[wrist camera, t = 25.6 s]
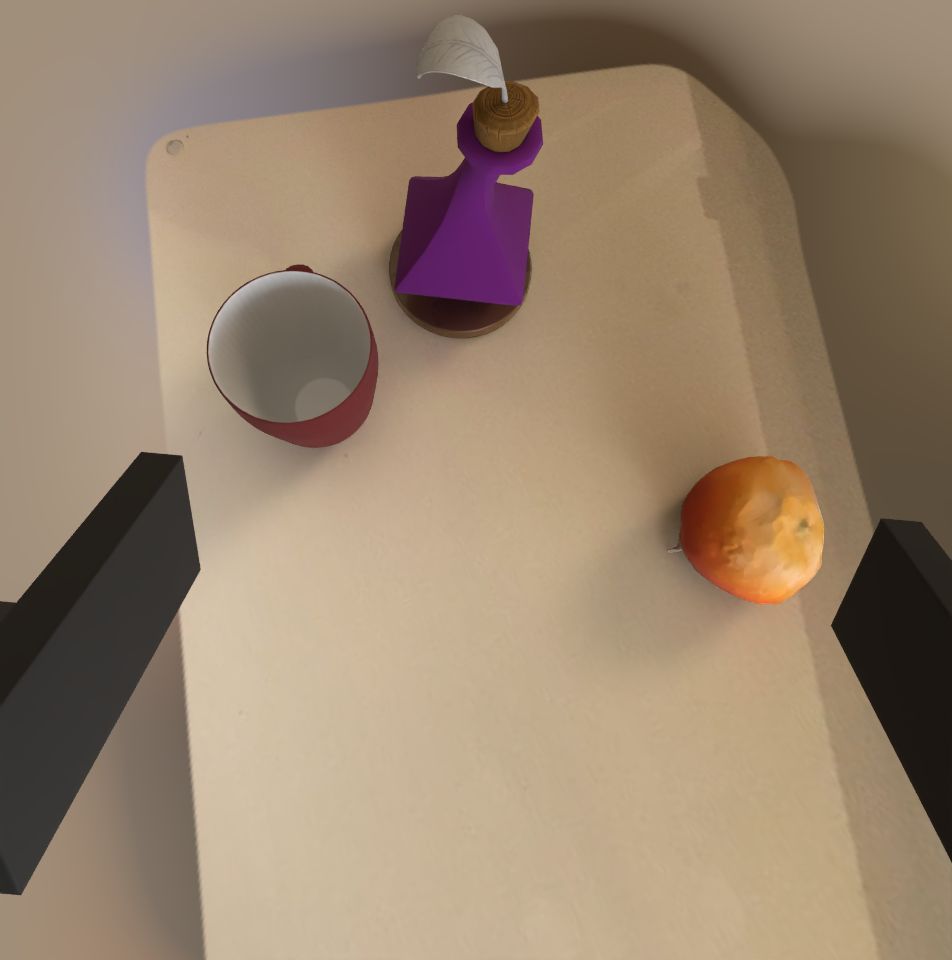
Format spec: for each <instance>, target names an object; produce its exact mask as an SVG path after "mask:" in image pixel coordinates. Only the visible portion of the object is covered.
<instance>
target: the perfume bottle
mask: <svg viewBox="0 0 952 960" xmlns="http://www.w3.org/2000/svg"><path fill="white" fill-rule="evenodd" d="M428 72H440V73H447V74H452V75H456V76H459V77H463V78H466V79H469V80H472V81H476V82H479V83H481V84H484V85H486V86H488V87H487V88H485V89H483V90H481V91H480V92H479V94H478V96H477V97H476V99H475V100H474V102H472V103H471V104H469V105H468V107H467V109H466V110H465V112H464V113H463V115H462V117H461V118H460V120H459V122H458V123H457V140H458V148H459V149H460V151H461V152H462V154H463V155H464V156H465V159H464V160H463V162H462V163H461V165H460V166H459V167H458V168H457V170H456V171H455V172H454V173H452V174H451V175H449V176H445V177H417V176H415V177H411V179H410V180H409V186H408V194H407V201H406V208H405V215H404V222H403V229H402V236H401V243H400V251H399V258H398V265H397V272H396V279H395V286H394V288H395V291H397V292H399V293H405V294H414V295H423V296H432V297H442V298H451V299H460V300H469V301H478V302H487V303H496V304H505V305H514V306H518V305H521V304H522V302H523V295H524V285H525V275H526V265H527V255H528V245H529V235H530V225H531V215H532V205H533V195H534V194H533V192H532V190H530V189H526V188H521V187H516V186H511V185H506V184H500V183H497V182H496V181H497V179H498V177H499V175H513V174H515V173H516V172H518V171H520V170H522V169H524V168H525V167H527V166H529V165H531V164H532V162H533V161H534V159H535V157H536V156H537V154H538V152H539V150H540V149H541V147H542V145H543V138H542V126H541V120H540V118H539V117H538V116H537V115H538V113H539V102H538V97H537V96H536V95H535V94H534V93H533V92H532V91H531V90H530V89H529V88H528V87H527V86H524V85H521V84H518V83H515V82H512V81H511V82H504V78H503V72H502V68H501V63H500V58H499V53H498V49H497V47H496V46H495V44H494V42H493V41H492V39H491V38H490V36H489V35H488V33H487V32H486V30H485V29H484V28H483V27H482V26H480V25H479V24H478V23H476V22H475V21H474V20H473V19H470V18H467V17H463V16H460V15H456V16H453V17H449V18H446V19H443V20H442V21H441V22H440V23H439V24H438V26H437V27H436V28H435V29H434V30H433V32H432V33H431V35H430V37H429V39H428V40H427V42H426V44H425V46H424V47H423V49H422V51H421V53H420V56H419V58H418V61H417V77H418V78H421V75H424V74H426V73H428Z"/></svg>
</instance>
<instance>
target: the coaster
mask: <svg viewBox="0 0 952 960" xmlns="http://www.w3.org/2000/svg"><path fill="white" fill-rule="evenodd" d="M401 236H402V230H401V232H400V234H399V235H398V237H397V238H396V241H395V243H394V245H393V248H392V252H391V256H390V278H391V283H392V288H393V291H394V294H395V297H396V299H397V301H398V303H399V304H400V306H401V308H402V309H403V310H404V312H405V313H406V314H407V315H408V316H409V317H410V318H411V319H412V320H413V321H414V322H416V323H417V324H418V325H420V326H421V327H423V328H425V329H427V330H429V331H431V332H433V333H436V334H439V335H442V336H447V337H454V338H469V337H476V336H480V335H484V334H486V333H489V332H491V331H494V330H495V329H497V328H499V327H501V326H502V325H504V324H505V323H506V322H508V321H509V320H510V319H511V318H512V317H513V316H514V315H515V314H516V312H517V311H518V310H519V309H520V307H521V305H522V304H523V302H524V300H525V297H526V295H527V292H528V288H529V284H530V280H531V271H532V267H531V257H530V252H529V249H528V255H527V265H526V275H525V285H524V295H523V302H522V304H521V305H518V306H514V305H505V304H496V303H487V302H478V301H469V300H460V299H451V298H442V297H432V296H423V295H414V294H405V293H399V292H397V291H395V288H394V286H395V279H396V272H397V265H398V258H399V251H400V243H401Z"/></svg>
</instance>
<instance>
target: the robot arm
mask: <svg viewBox="0 0 952 960" xmlns="http://www.w3.org/2000/svg"><path fill="white" fill-rule="evenodd" d="M200 570H201V569H200V563H199V557H198V551H197V544H196V538H195V532H194V526H193V519H192V513H191V507H190V501H189V495H188V488H187V482H186V476H185V470H184V463H183V457H182V456H180V455H169V454H157V453H146V452H141V453H140V454H139V455H138V457H137V458H136V459H135V460H134V461H133V463H132V464H131V465H130V466H129V467H128V469H127V470H126V471H125V472H124V473H123V475H122V476H121V477H120V478H119V479H118V481H117V482H116V483H115V484H114V486H113V487H112V488H111V489H110V490H109V492H108V493H107V494H106V495H105V496H104V498H103V499H102V500H101V501H100V502H99V504H98V505H97V506H96V507H95V508H94V510H93V511H92V512H91V513H90V515H89V516H88V517H87V518H86V519H85V521H84V522H83V523H82V524H81V525H80V527H79V528H78V529H77V530H76V531H75V533H74V534H73V535H72V536H71V538H70V539H69V540H68V541H67V542H66V543H65V545H64V546H63V547H62V548H61V550H60V551H59V552H58V553H57V554H56V556H55V557H54V558H53V559H52V561H51V562H50V563H49V564H48V565H47V566H46V568H45V569H44V570H43V571H42V572H41V574H40V575H39V576H38V577H37V579H36V580H35V581H34V582H33V583H32V585H31V586H30V587H29V588H28V589H27V591H26V592H25V593H24V594H23V595H22V597H21V598H20V599H19V600H18V602H17V603H13V602H1V601H0V893H2V894H14V895H21V894H22V892H23V891H24V889H25V887H26V885H27V883H28V882H29V880H30V878H31V876H32V874H33V872H34V871H35V869H36V867H37V865H38V863H39V862H40V860H41V858H42V856H43V854H44V853H45V851H46V849H47V847H48V845H49V843H50V841H51V840H52V838H53V836H54V834H55V833H56V831H57V829H58V827H59V825H60V823H61V822H62V820H63V818H64V816H65V814H66V813H67V811H68V809H69V807H70V805H71V804H72V802H73V800H74V798H75V796H76V794H77V793H78V791H79V789H80V787H81V785H82V784H83V782H84V780H85V778H86V776H87V774H88V773H89V771H90V769H91V767H92V765H93V764H94V762H95V760H96V758H97V756H98V755H99V753H100V751H101V749H102V747H103V746H104V744H105V742H106V740H107V738H108V736H109V735H110V733H111V731H112V729H113V727H114V726H115V724H116V722H117V720H118V718H119V717H120V715H121V713H122V711H123V709H124V707H125V706H126V704H127V702H128V700H129V698H130V697H131V695H132V693H133V691H134V689H135V688H136V686H137V683H138V682H139V680H140V678H141V677H142V675H143V673H144V671H145V669H146V668H147V666H148V664H149V662H150V660H151V659H152V657H153V655H154V653H155V651H156V649H157V648H158V646H159V644H160V642H161V640H162V639H163V637H164V635H165V633H166V631H167V629H168V628H169V626H170V624H171V622H172V620H173V619H174V617H175V615H176V613H177V611H178V609H179V608H180V606H181V604H182V602H183V600H184V599H185V597H186V595H187V593H188V591H189V590H190V588H191V586H192V584H193V582H194V581H195V579H196V577H197V575H198V573H199V571H200ZM831 626H832V628H833V630H834V632H835V634H836V636H837V638H838V640H839V642H840V644H841V646H842V648H843V650H844V652H845V654H846V656H847V658H848V660H849V662H850V664H851V666H852V668H853V670H854V672H855V674H856V676H857V677H858V679H859V681H860V683H861V685H862V687H863V689H864V691H865V693H866V695H867V697H868V699H869V701H870V703H871V705H872V707H873V709H874V711H875V713H876V715H877V717H878V719H879V721H880V723H881V725H882V727H883V728H884V730H885V732H886V734H887V736H888V738H889V740H890V742H891V744H892V746H893V748H894V750H895V752H896V754H897V756H898V758H899V760H900V762H901V764H902V766H903V768H904V770H905V772H906V774H907V776H908V778H909V779H910V781H911V783H912V785H913V787H914V789H915V791H916V793H917V795H918V797H919V799H920V801H921V803H922V805H923V807H924V809H925V811H926V813H927V815H928V817H929V819H930V821H931V823H932V825H933V827H934V829H935V831H936V832H937V834H938V836H939V838H940V840H941V842H942V844H943V846H944V848H945V850H946V852H947V854H948V856H949V858H950V860H951V862H952V560H951V559H950V558H949V557H948V555H947V554H946V553H945V551H944V550H943V549H942V548H941V546H940V545H939V544H938V543H937V541H936V540H935V539H934V537H933V536H932V535H931V534H930V532H929V531H928V530H927V529H926V527H925V526H924V525H923V523H922V522H915V521H903V520H893V519H880V522H879V524H878V526H877V528H876V530H875V532H874V534H873V537H872V539H871V541H870V543H869V545H868V547H867V549H866V552H865V554H864V556H863V558H862V560H861V562H860V564H859V567H858V569H857V571H856V573H855V575H854V577H853V579H852V582H851V584H850V586H849V588H848V590H847V592H846V594H845V597H844V599H843V601H842V603H841V605H840V607H839V609H838V612H837V614H836V616H835V618H834V620H833V622H832V624H831Z"/></svg>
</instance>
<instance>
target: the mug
mask: <svg viewBox="0 0 952 960" xmlns="http://www.w3.org/2000/svg"><path fill="white" fill-rule="evenodd" d="M207 360H208V366H209V370H210V373H211V376H212V378H213V381H214V383H215V385H216V386H217V388H218V390H219V391H220V393H221V394H222V395H223V397H224V398H225V399H226V400H227V402H228V403H229V404H230V405H231V406H232V407H233V408H234V409H235V411H236V412H237V413H238V414H239V415H240V416H241V417H243V418H244V419H245V420H246V421H247V422H249V423H250V424H251V425H253V426H254V427H256V428H257V429H259V430H261V431H263V432H265V433H267V434H269V435H271V436H274V437H276V438H279V439H282V440H285V441H287V442H290V443H293V444H296V445H300V446H304V447H314V448H317V447H326V446H330V445H334V444H337V443H339V442H341V441H343V440H345V439H347V438H348V437H350V436H351V435H352V434H354V433H355V432H356V431H357V430H358V429H359V428H360V426H361V425H362V424H363V423H364V421H365V419H366V418H367V416H368V414H369V411H370V409H371V406H372V402H373V398H374V392H375V387H376V382H377V376H378V353H377V346H376V342H375V338H374V335H373V332H372V329H371V326H370V323H369V320H368V318H367V315H366V314H365V312H364V310H363V308H362V306H361V305H360V303H359V302H358V301H357V299H356V298H355V297H354V296H353V295H352V294H351V293H350V292H349V291H348V290H347V289H346V288H345V287H343V286H342V285H340V284H339V283H337V282H336V281H334V280H332V279H330V278H328V277H326V276H323V275H320V274H317V273H314V272H313V271H312V270H311V269H310V268H309V267H308V266H305V265H293V266H290V267H288V268H287V269H286V270H284V271H277V272H272V273H268V274H265V275H262V276H260V277H257V278H255V279H253V280H251V281H249V282H247V283H246V284H244V285H243V286H241V287H240V288H239V289H237V290H236V291H235V292H234V293H233V294H232V295H231V296H230V297H229V298H228V299H227V300H226V301H225V302H224V303H223V305H222V306H221V308H220V309H219V310H218V312H217V314H216V316H215V318H214V320H213V322H212V325H211V328H210V331H209V335H208V341H207Z"/></svg>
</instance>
